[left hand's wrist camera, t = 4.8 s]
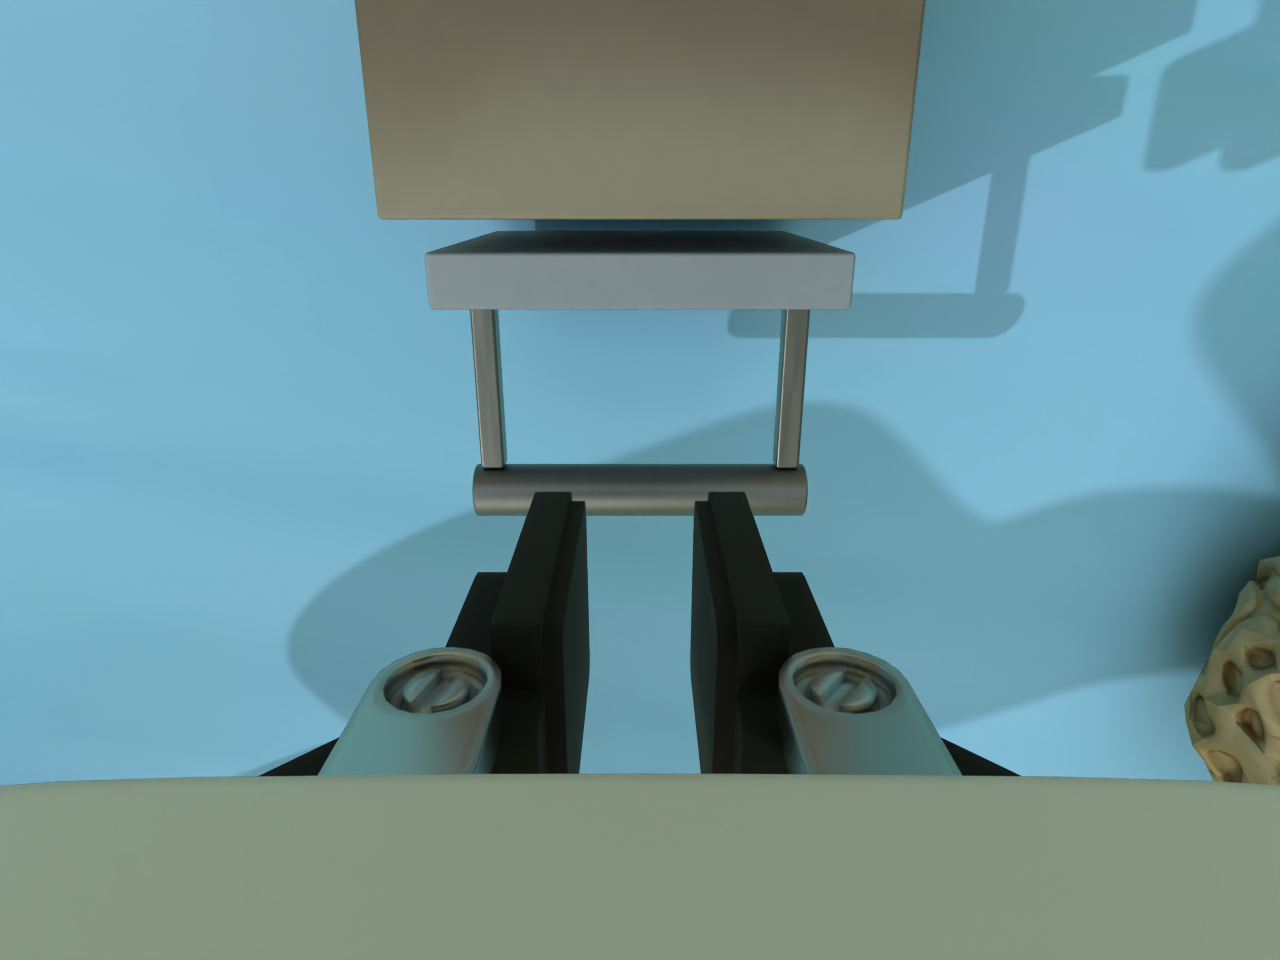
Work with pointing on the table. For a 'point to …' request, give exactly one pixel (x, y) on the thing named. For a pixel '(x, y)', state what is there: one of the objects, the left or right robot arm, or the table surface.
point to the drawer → (640, 279)
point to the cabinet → (640, 107)
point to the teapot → (1242, 688)
